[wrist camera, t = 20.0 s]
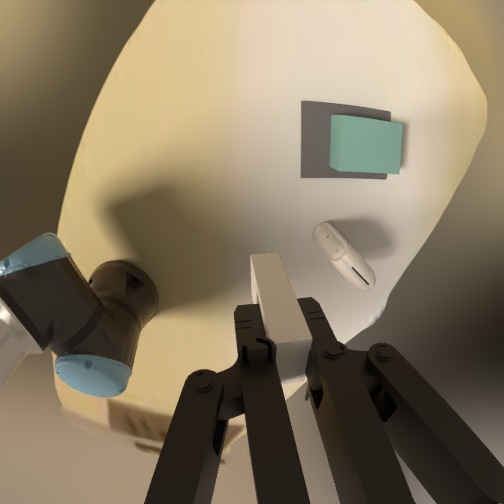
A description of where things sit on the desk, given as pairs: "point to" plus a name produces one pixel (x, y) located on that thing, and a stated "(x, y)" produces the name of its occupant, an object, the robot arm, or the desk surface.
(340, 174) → the mat
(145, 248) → the desk surface
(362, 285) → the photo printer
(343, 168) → the block
